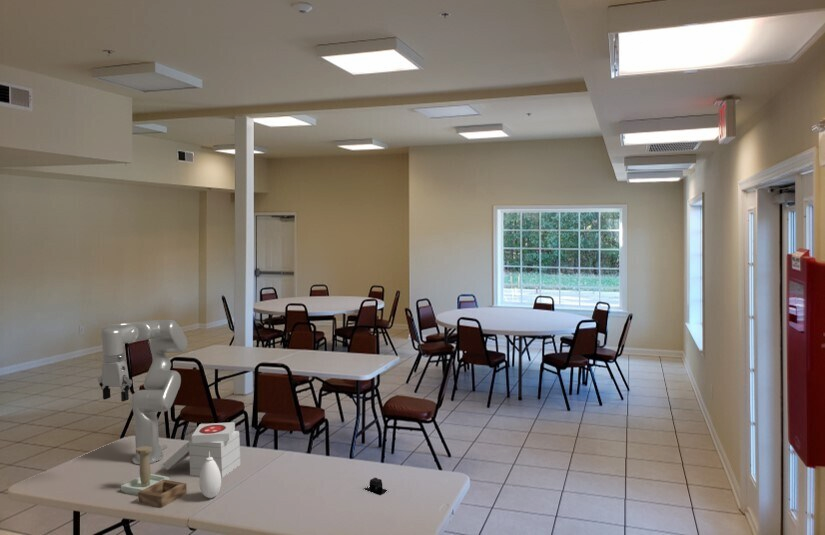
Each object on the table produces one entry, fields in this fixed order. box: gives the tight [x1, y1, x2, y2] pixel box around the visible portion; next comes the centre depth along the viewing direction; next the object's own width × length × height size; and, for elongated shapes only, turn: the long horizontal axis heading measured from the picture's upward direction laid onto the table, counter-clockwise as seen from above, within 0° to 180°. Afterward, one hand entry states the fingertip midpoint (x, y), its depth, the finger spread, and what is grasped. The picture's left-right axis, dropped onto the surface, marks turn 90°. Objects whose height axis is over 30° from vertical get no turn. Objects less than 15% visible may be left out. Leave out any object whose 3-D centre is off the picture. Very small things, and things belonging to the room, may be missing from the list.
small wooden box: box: [137, 479, 188, 508], centre depth 226 cm, size 12×12×4 cm
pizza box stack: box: [162, 421, 241, 479], centre depth 254 cm, size 19×30×18 cm, turn 77°
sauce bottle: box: [198, 451, 222, 499], centre depth 226 cm, size 8×8×18 cm
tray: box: [120, 473, 171, 496], centre depth 236 cm, size 13×12×2 cm
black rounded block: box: [363, 477, 388, 496], centre depth 230 cm, size 12×7×5 cm, turn 50°
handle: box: [135, 446, 152, 487], centre depth 236 cm, size 5×6×15 cm
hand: (116, 399), depth 243 cm, fingers open, 9 cm apart
